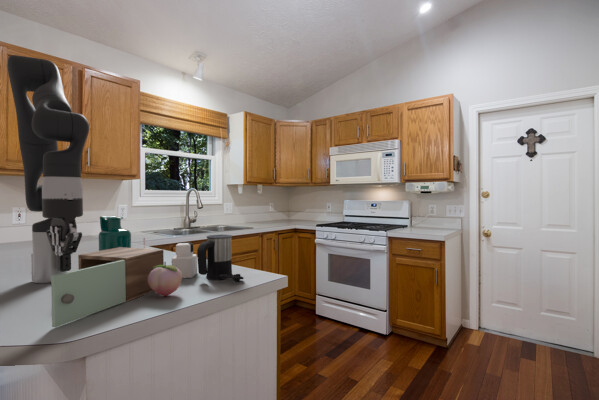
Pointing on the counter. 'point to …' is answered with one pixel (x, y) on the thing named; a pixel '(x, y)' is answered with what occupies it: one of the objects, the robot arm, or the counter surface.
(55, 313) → the cabinet door
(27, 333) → the counter surface
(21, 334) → the counter surface
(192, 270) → the medicine bottle
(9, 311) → the counter surface
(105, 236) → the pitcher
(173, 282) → the decorative fruit
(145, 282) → the cabinet
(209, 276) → the milk frother
